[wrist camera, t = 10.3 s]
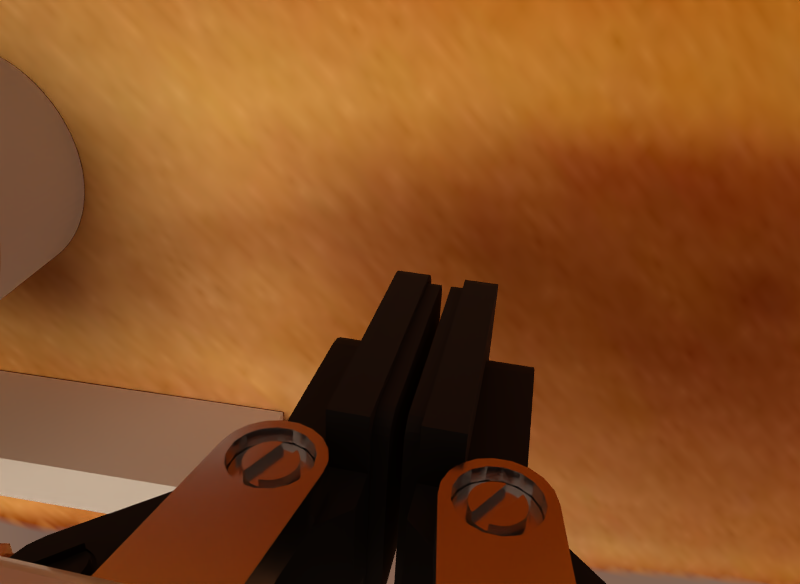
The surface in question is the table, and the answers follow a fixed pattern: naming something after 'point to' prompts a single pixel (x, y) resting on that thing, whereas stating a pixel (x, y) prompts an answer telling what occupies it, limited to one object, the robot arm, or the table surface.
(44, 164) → the coffee cup
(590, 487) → the table surface
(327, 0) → the table surface
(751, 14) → the table surface
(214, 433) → the box
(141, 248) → the table surface
